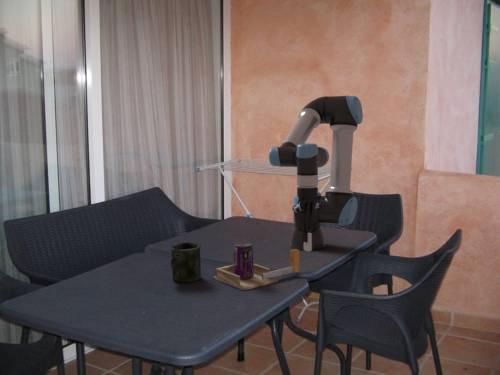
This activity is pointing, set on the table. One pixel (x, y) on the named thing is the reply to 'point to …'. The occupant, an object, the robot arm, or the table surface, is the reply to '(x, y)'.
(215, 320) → the table surface
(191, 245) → the mug
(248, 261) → the beverage can
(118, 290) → the table surface
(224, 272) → the wooden tray
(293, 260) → the lock bar
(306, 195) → the robot arm
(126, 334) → the table surface
